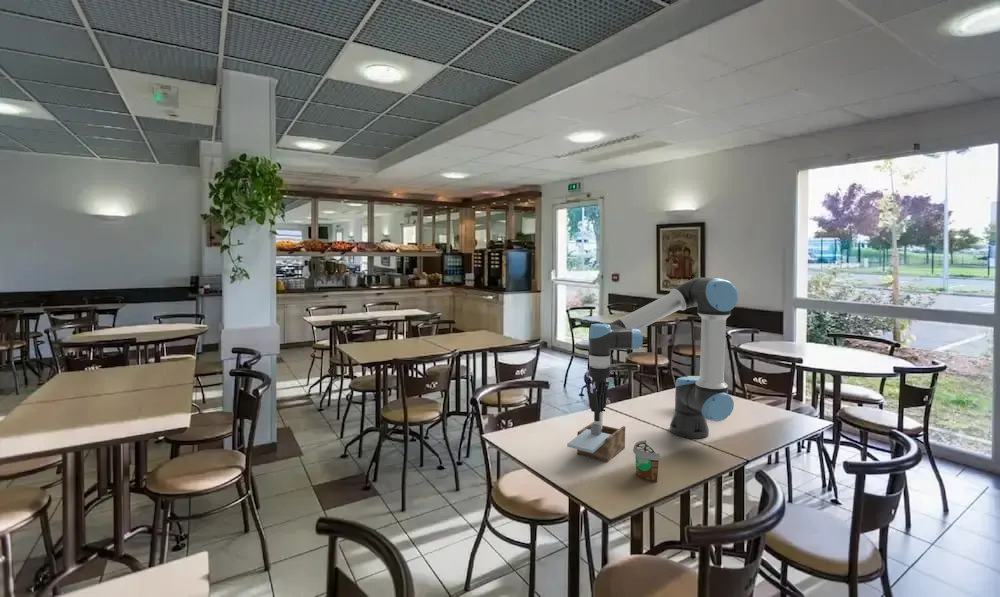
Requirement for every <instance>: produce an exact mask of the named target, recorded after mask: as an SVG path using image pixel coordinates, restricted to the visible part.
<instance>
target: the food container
mask: <svg viewBox="0 0 1000 597" xmlns="http://www.w3.org/2000/svg"><path fill="white" fill-rule="evenodd" d="M632 452H633V453H634V455H635V458H634V459H635V474H636V477H637V478H639V479H640V480H642V481H645V482H651V483H657V482H658V474H659V462H660V461H661V460H660V459H661V458H660V453H656V452H655V451H654V449H653V448H652V447H651V446H649V445H648V444H647V440H646V439H645V440H639V441H637V442H636V443H635V444H634V445H633V450H632Z"/></svg>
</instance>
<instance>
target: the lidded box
mask: <svg viewBox="0 0 1000 597" xmlns="http://www.w3.org/2000/svg"><path fill="white" fill-rule="evenodd" d="M593 424H594V421H592V422H591V423H590V424H588V425H586V426H585V427H583V428H582V429H580V430H579V431H577V432H576V433H577V434H576V435H577V436H578V435H579V434H581V433H582V432H583V431H584V430H586V429H589V430H591V426H592V425H593ZM601 432H602V433H606V434H611V435H610V436H609V437H607V438H606V442H605V443H604V444H603V445H601V446H600V447H599V448H598V449H597V450H596V451H595V452H594V453H590V452H586V451H582V450H578V449H576V450H577V451H576V452H577V455H579V456H582V457H585V458H590V459H592V460H593V459H594V460H597V461H600V462H606V463H609V462H610V461H611V460H612V459H613V458H615V457H617V455H618V454H619V453H620V452H622V451H623V450H624V449H625V448H626V426H624V425H622V426H621V427H620V428H617V427H611V426H608V425H603V424H602V429H601ZM577 436H576V437H577Z"/></svg>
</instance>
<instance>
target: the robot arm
mask: <svg viewBox="0 0 1000 597" xmlns="http://www.w3.org/2000/svg"><path fill="white" fill-rule="evenodd" d="M738 300H739V293H738V290H737V288H736V286H735V285H734V284H733V283H732V282H731V281H729V280H727V279H723V278H719V277H718V278H715V277H713V278H712V277H711V278H709V277H696V278H693V279H690V280H688V281H686V282H683V283H681V284H680V285H678V286H675V287H674V288H672V289H671V290H670V292H669V293H667V294H666V295H664V296H661V297H659V298H658V299H655V300H654V301H652V302H649V303H648V304H646V305H644V306H642V307H640V308H638V309H636V310H634V311H632V312H630V313H628V314H627V315H624V316H622V317H619V318H618V319H617V320H614V321H612V322H603V323H593V324H591V325H590V327H589V333H588V335H589V337H588V339H589V340H588V341H589V345H588V346H589V348H588V350H589V353H588V354H589V355H588V362H589V363H588V364H589V367H588V376H589V377H590V378H591V379H592V380H591V387H588V394H589V400H590V401H589V402H590V404H589V405H590V411H591V412H593V422H594V424H596V425H601V429H602V425H603V415H604V412H606V408H607V407H606V406H607V398H608V390H609V386H610V382H609V381H607V379H609V378H610V374H611V371H610V366H611V351H612V350H613V351H614V350H615V351H616V350H617V351H618V350H637V349H640V348H641V347H642V346H643V341H644V340H643V333H642V331H641V330H642V329H644V328H646V327H648V326H650V325H652V324H654V323H656V322H657V321H660V320H662V319H664V318H666V317H668V316H670V315H672V314H673V313H675V312H677V311H685V310H687V309H689V308H695V307H697V315H698V316H699V317H700V318H701V325H700V328H701V330H700V357H699V358H700V359H699V361H700V363H699V367H700V368H699V376H700V377H684V376H681V377H678V378H676V380H675V387H674V388H675V394H674V395H675V400H674V413H673V415H672V418H671V421H670V424H669V431H670V432H671V433H672V434H674V435H676V436H678V437H682V438H688V439H703V438H707V437H708V436H709V434H710V433H709V432H710V429H709V425H708V422H707V420H710V421H711V422H716V423H717V422H722V421H724V420H726V419H727V418H728V417H730V416H731V414H732V412H733V411H734V408H735V401H734V399H733V398H732V396H731V395H730V394H729V384H728V383H726V381H725V362H726V361H725V360H726V359H725V358H726V333H727V332H726V331H727V330H726V329H727V327H726V326H727V319H728V318H729V317H730V316H731V315H732V310H733V309H734V308H735V306H736V305H737V304H738Z"/></svg>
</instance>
